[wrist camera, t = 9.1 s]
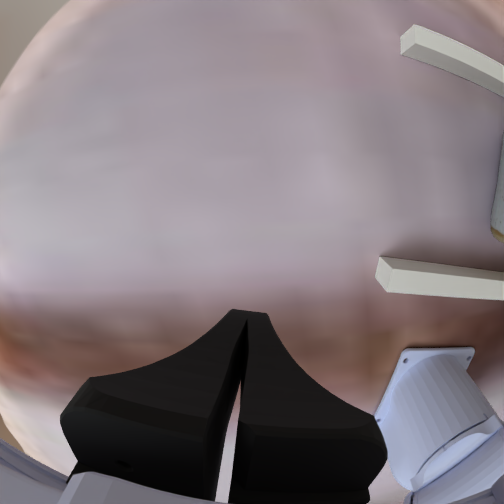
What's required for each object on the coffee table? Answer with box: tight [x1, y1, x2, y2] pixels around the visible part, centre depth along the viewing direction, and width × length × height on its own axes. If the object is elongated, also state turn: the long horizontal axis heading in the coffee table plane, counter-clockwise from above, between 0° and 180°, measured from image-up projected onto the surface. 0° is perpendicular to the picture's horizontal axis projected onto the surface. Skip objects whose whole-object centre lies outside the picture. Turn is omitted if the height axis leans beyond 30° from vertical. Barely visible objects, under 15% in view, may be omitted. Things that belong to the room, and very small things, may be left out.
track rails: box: [375, 24, 504, 300], centre depth 16 cm, size 17×18×2 cm
